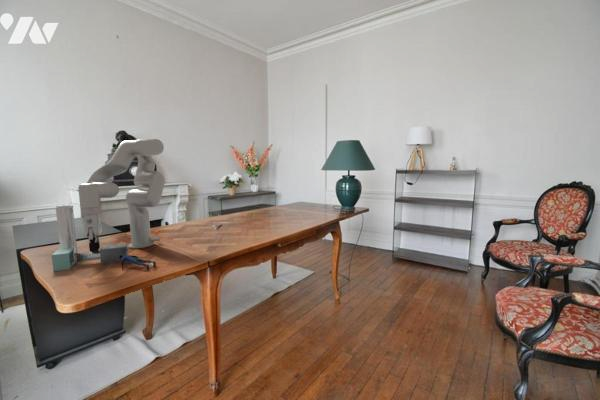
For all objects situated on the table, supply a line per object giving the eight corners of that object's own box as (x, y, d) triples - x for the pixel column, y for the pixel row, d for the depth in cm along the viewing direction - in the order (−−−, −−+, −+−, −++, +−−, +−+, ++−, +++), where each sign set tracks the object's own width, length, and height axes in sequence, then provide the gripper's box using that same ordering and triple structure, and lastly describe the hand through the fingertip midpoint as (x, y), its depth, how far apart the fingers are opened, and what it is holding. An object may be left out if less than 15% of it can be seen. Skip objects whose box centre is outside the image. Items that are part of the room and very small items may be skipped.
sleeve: (128, 256, 137) (127, 243, 136) (126, 260, 131) (125, 246, 130) (103, 259, 132) (102, 245, 131) (101, 264, 126) (99, 249, 125)
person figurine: (161, 268, 127) (129, 259, 131) (162, 259, 126) (130, 250, 130) (142, 277, 116) (108, 267, 120) (143, 267, 116) (108, 257, 120)
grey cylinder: (68, 256, 137) (62, 206, 134) (57, 255, 138) (51, 205, 135) (80, 252, 143) (75, 204, 140) (70, 251, 145) (65, 203, 141)
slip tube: (123, 255, 135) (121, 236, 133) (122, 257, 131) (120, 238, 130) (79, 260, 127) (77, 240, 126) (77, 263, 123) (74, 242, 122)
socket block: (75, 262, 128) (73, 247, 127) (69, 269, 120) (68, 253, 119) (60, 264, 126) (58, 249, 125) (53, 271, 118) (51, 255, 117)
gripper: (98, 212, 120) (101, 254, 122) (104, 207, 134) (107, 244, 136) (76, 214, 116) (80, 256, 119) (84, 208, 130) (88, 246, 133)
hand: (94, 249), depth 127 cm, fingers closed on slip tube, 2 cm apart
